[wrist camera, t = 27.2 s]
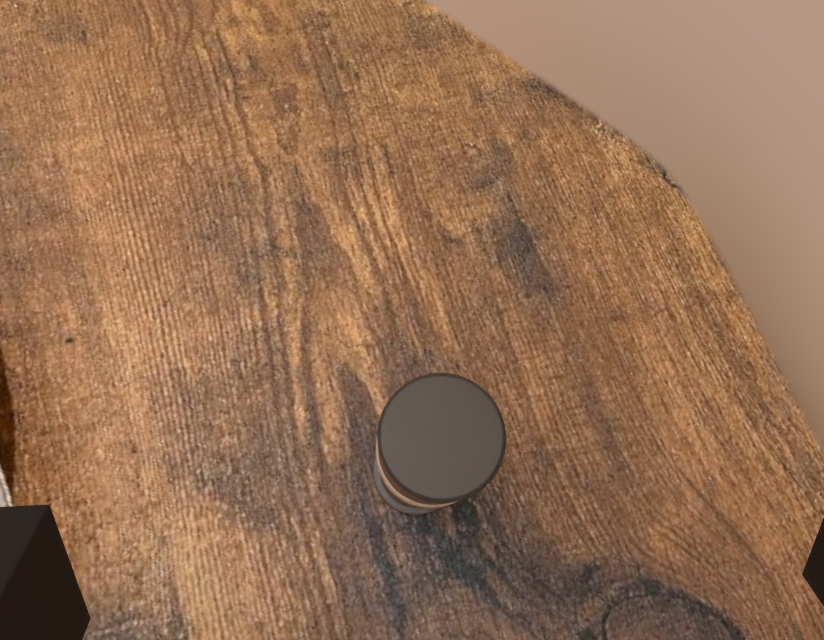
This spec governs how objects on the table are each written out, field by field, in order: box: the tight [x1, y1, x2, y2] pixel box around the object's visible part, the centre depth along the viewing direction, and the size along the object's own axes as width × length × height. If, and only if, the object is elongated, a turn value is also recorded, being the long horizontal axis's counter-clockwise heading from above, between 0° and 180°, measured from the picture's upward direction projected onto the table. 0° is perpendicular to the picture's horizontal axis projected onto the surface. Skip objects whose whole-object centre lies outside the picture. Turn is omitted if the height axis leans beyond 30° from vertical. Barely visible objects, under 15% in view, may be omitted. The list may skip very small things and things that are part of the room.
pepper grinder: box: [373, 373, 506, 515], centre depth 17 cm, size 3×3×10 cm
